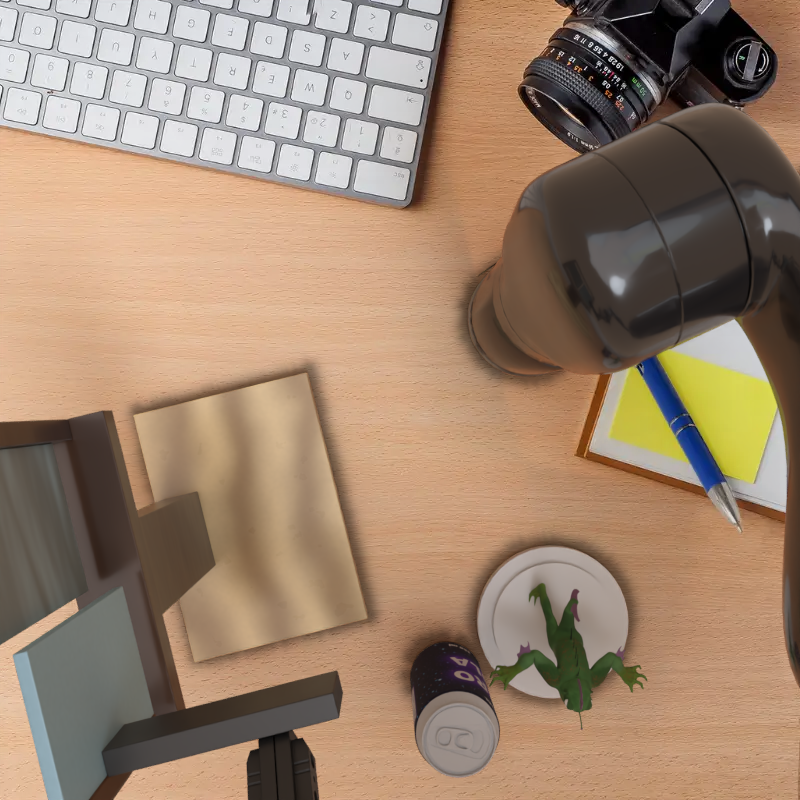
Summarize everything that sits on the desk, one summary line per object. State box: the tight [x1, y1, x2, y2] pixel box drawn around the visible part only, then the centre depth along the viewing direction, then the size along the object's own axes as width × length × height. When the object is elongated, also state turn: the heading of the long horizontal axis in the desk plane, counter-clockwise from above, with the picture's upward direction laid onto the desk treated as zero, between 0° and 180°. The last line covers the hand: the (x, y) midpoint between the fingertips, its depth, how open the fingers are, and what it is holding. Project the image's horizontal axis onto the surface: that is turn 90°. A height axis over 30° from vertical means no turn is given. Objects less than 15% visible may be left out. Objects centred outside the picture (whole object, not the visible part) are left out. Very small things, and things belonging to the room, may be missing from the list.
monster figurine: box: [476, 544, 648, 731], centre depth 57 cm, size 12×12×10 cm
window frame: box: [0, 409, 216, 800], centre depth 44 cm, size 4×19×34 cm, turn 14°
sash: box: [12, 586, 344, 800], centre depth 36 cm, size 11×8×11 cm
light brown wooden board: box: [133, 371, 369, 663], centre depth 61 cm, size 14×20×1 cm
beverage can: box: [409, 641, 501, 779], centre depth 56 cm, size 6×6×12 cm
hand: (280, 737), depth 36 cm, fingers closed
